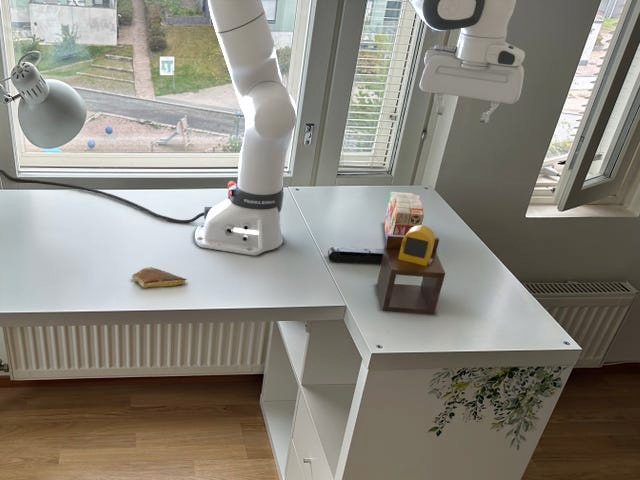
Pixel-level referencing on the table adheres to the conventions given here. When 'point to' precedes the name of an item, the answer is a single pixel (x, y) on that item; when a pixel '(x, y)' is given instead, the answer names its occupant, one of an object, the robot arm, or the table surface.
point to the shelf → (408, 295)
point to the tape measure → (418, 245)
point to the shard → (156, 278)
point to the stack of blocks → (403, 213)
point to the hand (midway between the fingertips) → (461, 118)
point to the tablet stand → (355, 255)
